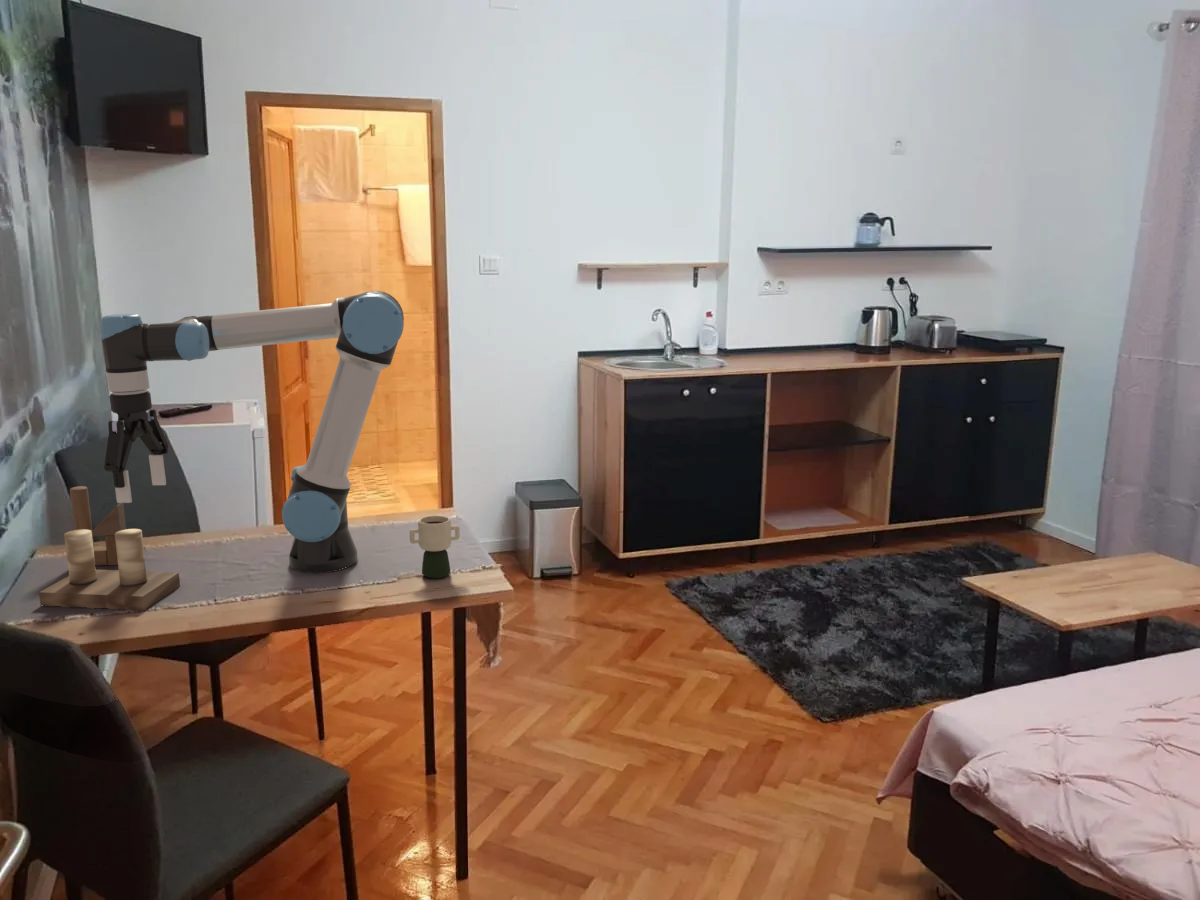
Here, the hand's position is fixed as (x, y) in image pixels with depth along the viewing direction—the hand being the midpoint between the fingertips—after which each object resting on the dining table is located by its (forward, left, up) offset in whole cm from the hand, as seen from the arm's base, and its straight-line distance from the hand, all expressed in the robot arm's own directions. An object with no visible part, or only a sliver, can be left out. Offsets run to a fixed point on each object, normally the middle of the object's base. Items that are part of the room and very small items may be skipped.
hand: (142, 493), depth 198 cm
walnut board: (+7, +3, -22) cm, 23 cm away
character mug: (-57, -16, -22) cm, 63 cm away
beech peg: (+2, +3, -21) cm, 21 cm away
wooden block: (+21, -16, -22) cm, 34 cm away
